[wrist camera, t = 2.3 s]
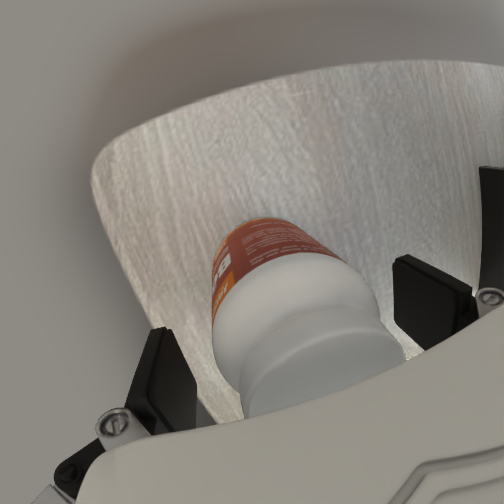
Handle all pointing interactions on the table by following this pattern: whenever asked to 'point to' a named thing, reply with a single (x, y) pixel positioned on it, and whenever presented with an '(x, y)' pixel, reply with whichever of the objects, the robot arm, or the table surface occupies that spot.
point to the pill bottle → (292, 319)
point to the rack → (492, 227)
